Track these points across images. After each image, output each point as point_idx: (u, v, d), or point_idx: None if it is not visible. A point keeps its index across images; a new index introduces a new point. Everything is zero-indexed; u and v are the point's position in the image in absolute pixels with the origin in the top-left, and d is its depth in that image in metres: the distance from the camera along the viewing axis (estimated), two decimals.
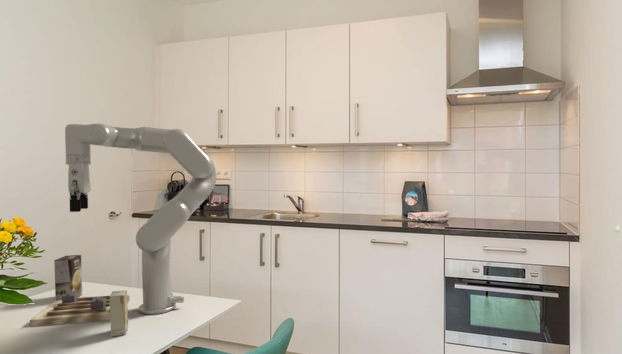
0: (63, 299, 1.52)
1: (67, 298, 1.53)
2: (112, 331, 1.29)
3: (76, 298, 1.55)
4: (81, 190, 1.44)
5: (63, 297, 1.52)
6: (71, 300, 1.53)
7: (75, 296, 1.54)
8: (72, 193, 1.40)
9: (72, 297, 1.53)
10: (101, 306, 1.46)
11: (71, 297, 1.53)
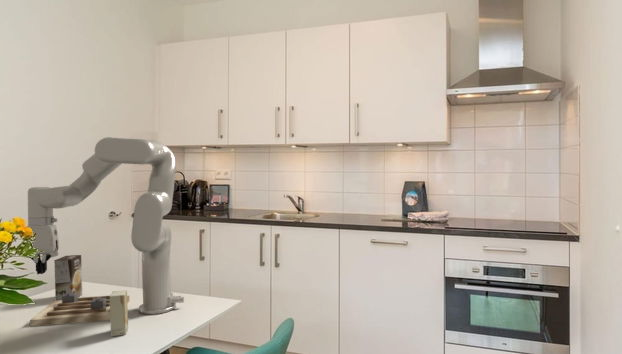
0: (63, 299, 1.52)
1: (67, 298, 1.53)
2: (112, 331, 1.29)
3: (76, 298, 1.55)
4: (58, 248, 1.55)
5: (63, 297, 1.52)
6: (71, 300, 1.53)
7: (75, 296, 1.54)
8: None
9: (72, 297, 1.53)
10: (101, 306, 1.46)
11: (71, 297, 1.53)
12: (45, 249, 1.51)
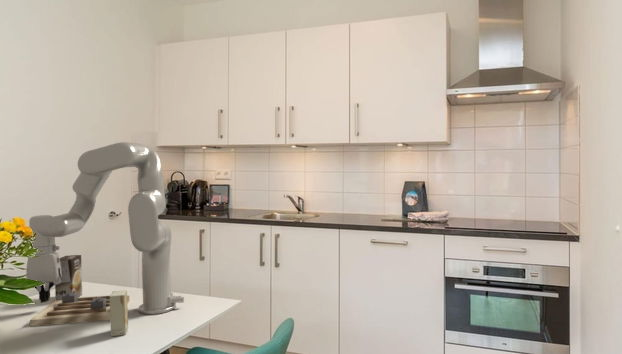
0: (63, 299, 1.52)
1: (67, 298, 1.53)
2: (112, 331, 1.29)
3: (76, 298, 1.55)
4: None
5: (63, 297, 1.52)
6: (71, 300, 1.53)
7: (75, 296, 1.54)
8: None
9: (72, 297, 1.53)
10: (101, 306, 1.46)
11: (71, 297, 1.53)
12: (48, 277, 1.51)
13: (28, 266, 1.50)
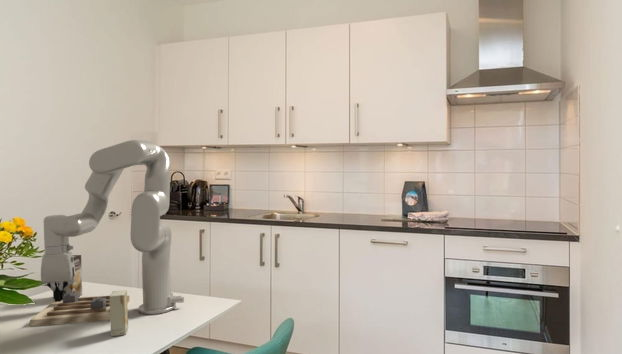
0: (64, 299, 1.52)
1: (68, 298, 1.53)
2: (112, 331, 1.29)
3: (77, 298, 1.55)
4: None
5: (64, 297, 1.52)
6: (72, 300, 1.53)
7: (76, 296, 1.54)
8: None
9: (73, 297, 1.53)
10: (101, 306, 1.46)
11: (72, 297, 1.53)
12: (62, 277, 1.52)
13: (42, 266, 1.51)
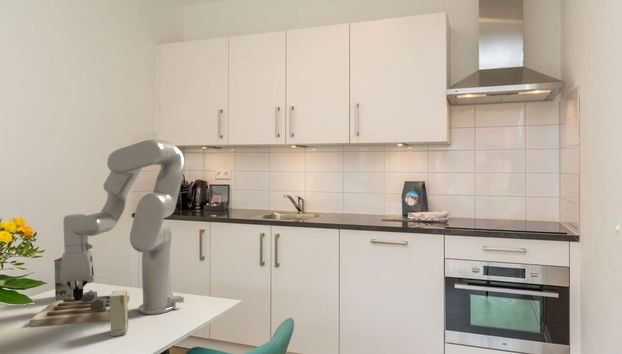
0: (83, 298, 1.54)
1: (87, 297, 1.54)
2: (112, 331, 1.29)
3: (96, 297, 1.57)
4: (93, 274, 1.58)
5: (83, 296, 1.54)
6: (91, 299, 1.54)
7: (95, 295, 1.56)
8: None
9: (92, 296, 1.54)
10: (101, 306, 1.46)
11: (91, 296, 1.54)
12: (82, 276, 1.53)
13: (62, 264, 1.52)
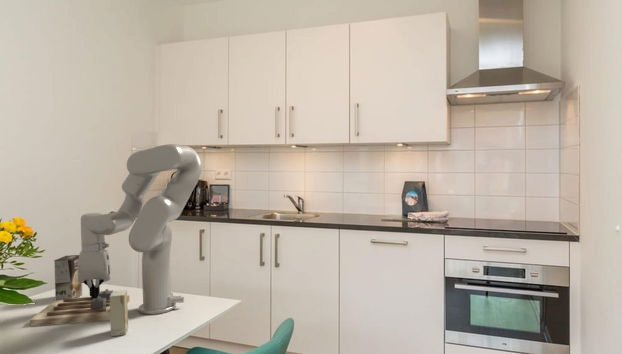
0: (99, 296, 1.55)
1: (103, 295, 1.55)
2: (112, 331, 1.29)
3: None
4: None
5: (99, 294, 1.55)
6: (107, 297, 1.55)
7: None
8: None
9: (108, 294, 1.55)
10: (101, 306, 1.46)
11: (107, 294, 1.55)
12: (98, 274, 1.54)
13: (79, 263, 1.53)
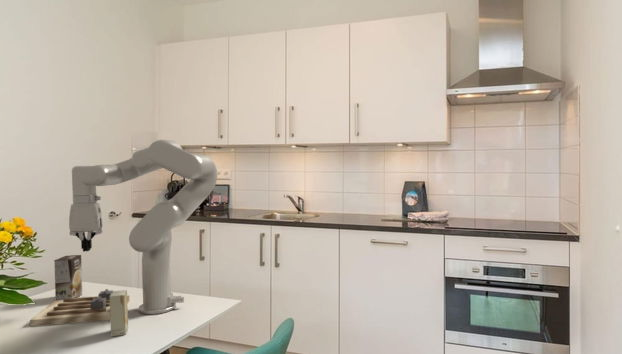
0: (99, 296, 1.55)
1: (103, 295, 1.55)
2: (112, 331, 1.29)
3: None
4: None
5: (99, 294, 1.55)
6: (107, 297, 1.55)
7: None
8: None
9: (108, 294, 1.55)
10: (101, 306, 1.46)
11: (107, 294, 1.55)
12: (90, 226, 1.53)
13: (71, 215, 1.52)
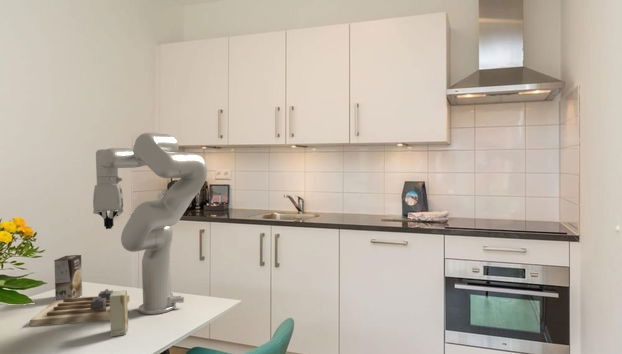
0: (99, 296, 1.55)
1: (103, 295, 1.55)
2: (112, 331, 1.29)
3: None
4: None
5: (99, 294, 1.55)
6: (107, 297, 1.55)
7: None
8: None
9: (108, 294, 1.55)
10: (101, 306, 1.46)
11: (107, 294, 1.55)
12: (112, 206, 1.65)
13: (95, 195, 1.63)
